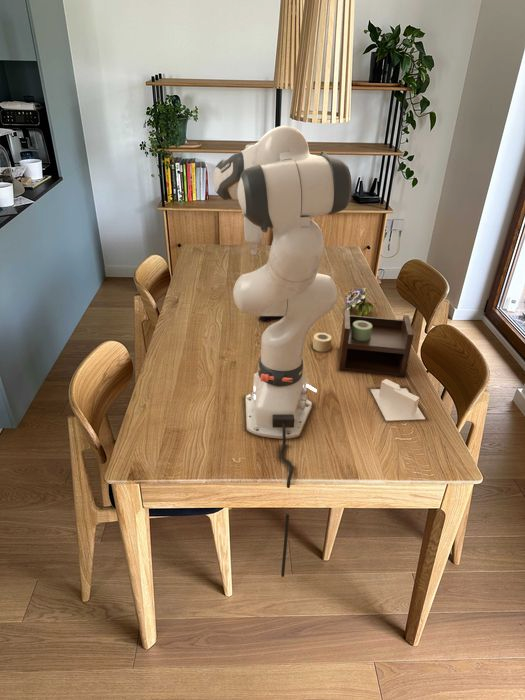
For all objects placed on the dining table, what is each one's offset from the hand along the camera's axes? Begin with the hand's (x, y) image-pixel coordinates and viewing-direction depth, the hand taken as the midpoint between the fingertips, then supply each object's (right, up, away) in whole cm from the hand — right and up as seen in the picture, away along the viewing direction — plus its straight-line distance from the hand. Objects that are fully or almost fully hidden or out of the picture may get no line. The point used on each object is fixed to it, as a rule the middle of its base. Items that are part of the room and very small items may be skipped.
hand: (256, 248), depth 151 cm
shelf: (+37, -35, +11) cm, 52 cm away
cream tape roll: (+22, -30, +18) cm, 41 cm away
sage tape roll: (+33, -26, +5) cm, 42 cm away
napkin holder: (+40, -46, -8) cm, 62 cm away
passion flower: (+39, -16, +44) cm, 61 cm away
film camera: (+6, -17, +39) cm, 43 cm away
